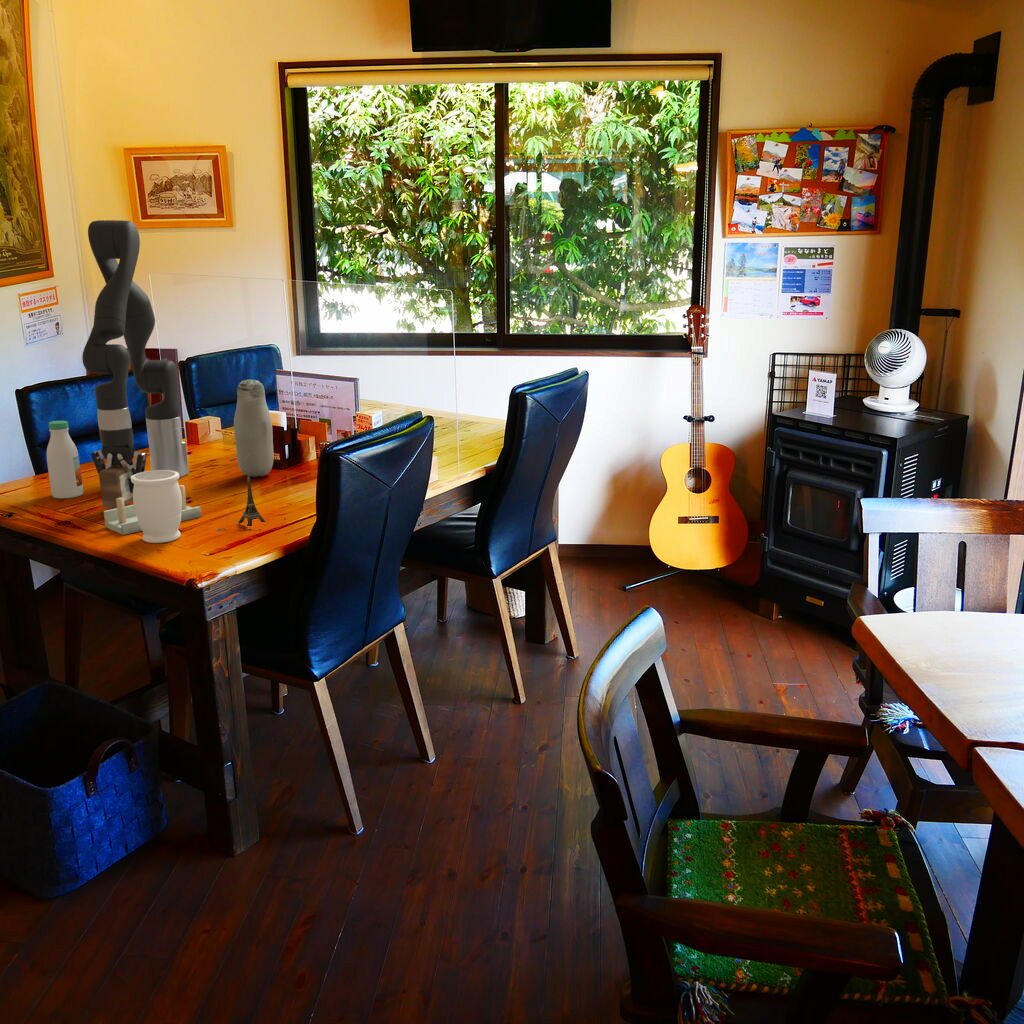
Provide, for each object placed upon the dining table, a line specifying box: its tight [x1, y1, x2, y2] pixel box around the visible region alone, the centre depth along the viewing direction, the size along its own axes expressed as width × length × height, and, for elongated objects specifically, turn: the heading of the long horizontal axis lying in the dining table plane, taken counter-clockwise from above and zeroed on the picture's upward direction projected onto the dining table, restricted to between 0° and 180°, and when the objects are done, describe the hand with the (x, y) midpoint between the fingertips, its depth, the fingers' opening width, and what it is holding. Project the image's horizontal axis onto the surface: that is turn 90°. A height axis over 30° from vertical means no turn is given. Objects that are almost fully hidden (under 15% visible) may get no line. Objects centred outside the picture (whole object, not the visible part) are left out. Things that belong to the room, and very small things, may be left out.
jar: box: [131, 470, 182, 544], centre depth 210 cm, size 11×10×15 cm
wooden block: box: [98, 460, 137, 509], centre depth 232 cm, size 12×5×9 cm, turn 173°
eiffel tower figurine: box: [215, 475, 266, 531], centre depth 221 cm, size 15×10×13 cm
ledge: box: [103, 484, 202, 536], centre depth 223 cm, size 20×9×8 cm, turn 138°
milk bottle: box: [46, 420, 84, 500], centre depth 243 cm, size 8×8×20 cm
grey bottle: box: [233, 379, 275, 478], centre depth 263 cm, size 10×10×28 cm
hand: (123, 491), depth 233 cm, fingers closed on wooden block, 4 cm apart
